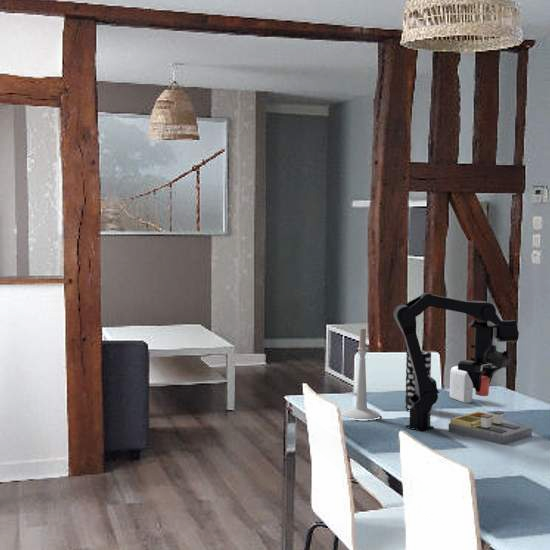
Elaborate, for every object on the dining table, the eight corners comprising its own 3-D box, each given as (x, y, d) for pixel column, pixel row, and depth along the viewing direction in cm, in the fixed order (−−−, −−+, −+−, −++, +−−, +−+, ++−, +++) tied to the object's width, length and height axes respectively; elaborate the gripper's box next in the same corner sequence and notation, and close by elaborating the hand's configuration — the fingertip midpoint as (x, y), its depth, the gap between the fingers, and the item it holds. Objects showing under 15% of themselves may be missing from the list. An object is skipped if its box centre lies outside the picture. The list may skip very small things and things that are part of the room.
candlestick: (335, 413, 281) (337, 325, 279) (369, 410, 286) (371, 323, 284) (352, 422, 269) (353, 330, 267) (387, 419, 274) (389, 328, 272)
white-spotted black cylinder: (431, 413, 284) (433, 354, 282) (406, 412, 284) (408, 354, 282) (427, 407, 292) (428, 350, 290) (403, 407, 292) (404, 350, 291)
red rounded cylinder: (483, 396, 260) (484, 379, 260) (472, 393, 263) (474, 376, 263) (490, 394, 263) (492, 377, 262) (480, 392, 266) (481, 375, 265)
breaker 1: (486, 427, 253) (486, 416, 252) (480, 426, 254) (481, 415, 254) (491, 426, 254) (491, 415, 254) (485, 425, 256) (485, 414, 256)
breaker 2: (498, 424, 258) (499, 413, 257) (493, 422, 259) (493, 411, 259) (503, 422, 259) (503, 411, 259) (497, 421, 261) (497, 410, 260)
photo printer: (474, 402, 300) (475, 368, 300) (464, 403, 299) (465, 369, 298) (457, 396, 310) (458, 363, 309) (447, 397, 308) (448, 364, 308)
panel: (503, 444, 245) (503, 431, 244) (448, 431, 259) (448, 418, 259) (531, 435, 255) (532, 422, 255) (477, 423, 270) (478, 411, 269)
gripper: (488, 347, 250) (486, 399, 251) (522, 342, 262) (520, 391, 263) (457, 343, 258) (455, 392, 259) (492, 337, 271) (490, 385, 272)
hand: (481, 390), depth 263 cm, fingers closed on red rounded cylinder, 4 cm apart
